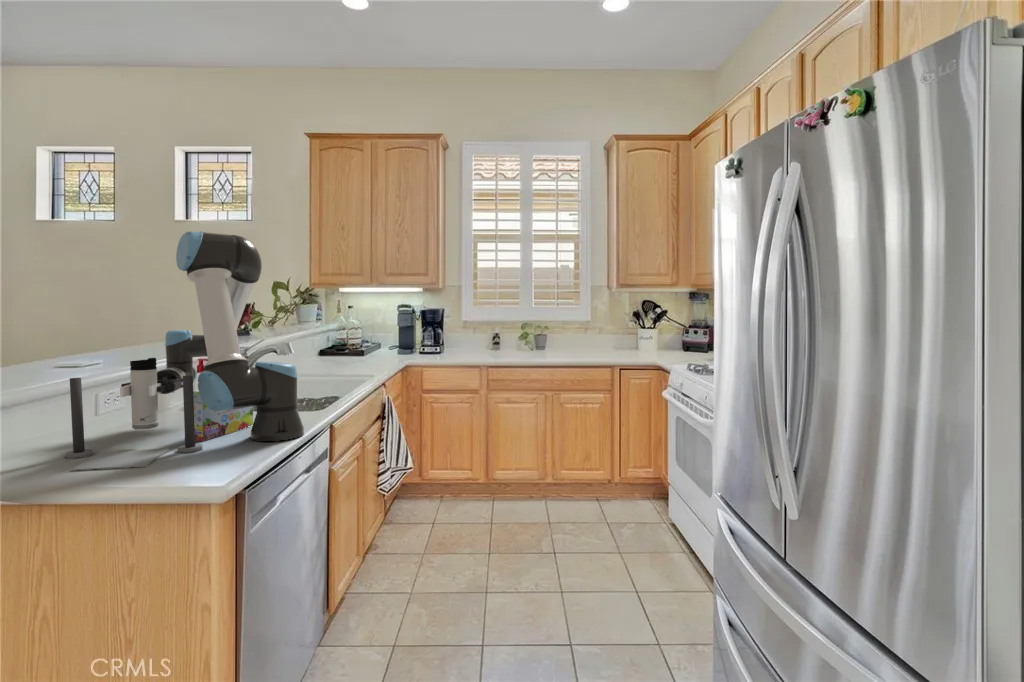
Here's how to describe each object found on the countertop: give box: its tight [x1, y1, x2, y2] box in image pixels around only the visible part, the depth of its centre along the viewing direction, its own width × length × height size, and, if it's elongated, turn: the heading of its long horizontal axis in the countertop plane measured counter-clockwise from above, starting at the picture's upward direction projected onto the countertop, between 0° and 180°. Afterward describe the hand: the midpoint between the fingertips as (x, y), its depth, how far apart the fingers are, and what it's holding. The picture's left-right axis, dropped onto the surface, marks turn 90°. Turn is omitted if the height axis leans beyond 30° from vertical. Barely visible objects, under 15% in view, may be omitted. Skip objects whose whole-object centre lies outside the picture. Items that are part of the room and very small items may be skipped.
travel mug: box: [129, 357, 160, 430], centre depth 154 cm, size 6×7×20 cm
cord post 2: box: [177, 375, 204, 454], centre depth 150 cm, size 6×6×21 cm
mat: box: [70, 448, 170, 472], centre depth 141 cm, size 16×16×1 cm
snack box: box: [193, 389, 254, 442], centre depth 170 cm, size 21×6×15 cm, turn 167°
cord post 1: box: [64, 377, 94, 459], centre depth 144 cm, size 6×6×21 cm
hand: (136, 391), depth 149 cm, fingers closed on travel mug, 6 cm apart
